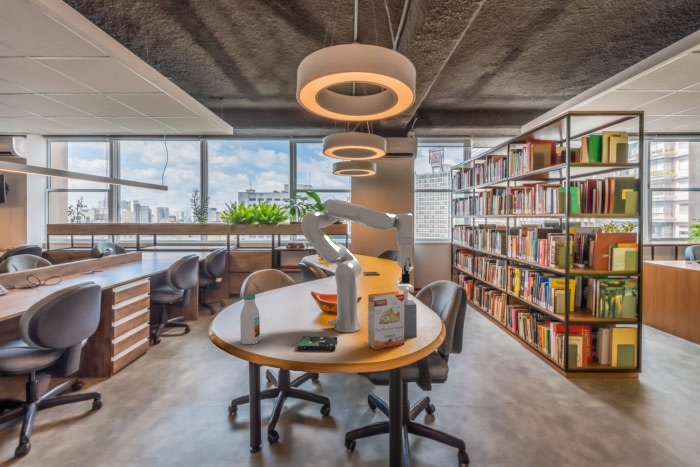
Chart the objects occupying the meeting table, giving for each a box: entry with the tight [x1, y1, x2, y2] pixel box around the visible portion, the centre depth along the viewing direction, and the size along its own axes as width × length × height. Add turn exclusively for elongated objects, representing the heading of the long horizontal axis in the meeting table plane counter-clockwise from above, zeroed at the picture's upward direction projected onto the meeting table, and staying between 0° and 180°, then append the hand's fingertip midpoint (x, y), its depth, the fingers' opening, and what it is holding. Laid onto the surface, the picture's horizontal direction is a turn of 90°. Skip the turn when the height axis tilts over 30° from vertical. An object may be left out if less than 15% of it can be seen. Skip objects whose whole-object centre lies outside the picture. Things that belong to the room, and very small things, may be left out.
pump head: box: [397, 283, 414, 303], centre depth 138 cm, size 6×9×12 cm, turn 1°
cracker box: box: [367, 291, 405, 350], centre depth 127 cm, size 14×6×21 cm, turn 114°
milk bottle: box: [239, 293, 261, 345], centre depth 132 cm, size 8×8×20 cm
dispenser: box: [404, 299, 418, 338], centre depth 140 cm, size 8×8×14 cm
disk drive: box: [297, 335, 338, 352], centre depth 127 cm, size 10×3×15 cm
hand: (405, 282), depth 140 cm, fingers closed
